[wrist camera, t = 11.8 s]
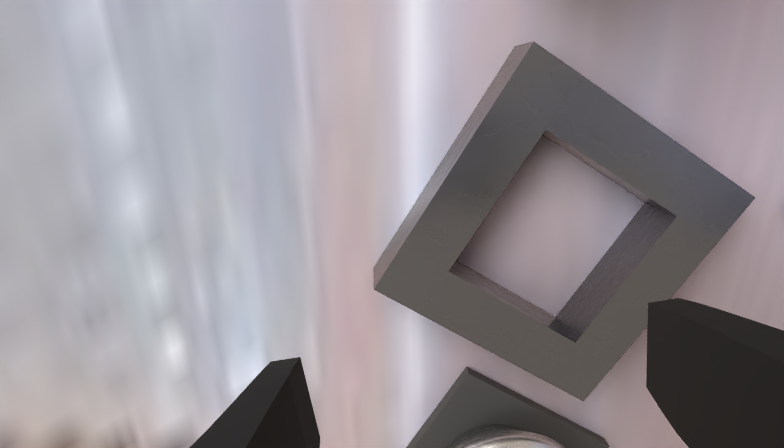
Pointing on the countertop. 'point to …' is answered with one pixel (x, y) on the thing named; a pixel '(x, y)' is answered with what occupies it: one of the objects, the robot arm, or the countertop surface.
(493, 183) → the frame
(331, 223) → the countertop surface
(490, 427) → the door knob
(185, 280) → the countertop surface
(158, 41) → the countertop surface
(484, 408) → the mat
